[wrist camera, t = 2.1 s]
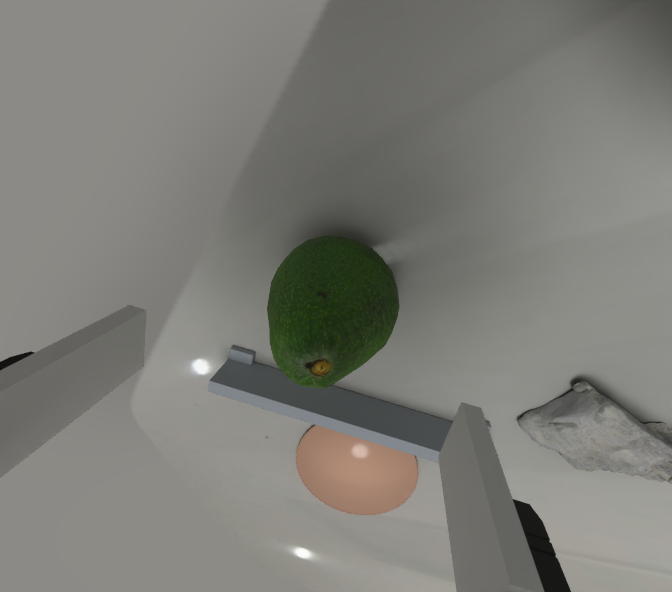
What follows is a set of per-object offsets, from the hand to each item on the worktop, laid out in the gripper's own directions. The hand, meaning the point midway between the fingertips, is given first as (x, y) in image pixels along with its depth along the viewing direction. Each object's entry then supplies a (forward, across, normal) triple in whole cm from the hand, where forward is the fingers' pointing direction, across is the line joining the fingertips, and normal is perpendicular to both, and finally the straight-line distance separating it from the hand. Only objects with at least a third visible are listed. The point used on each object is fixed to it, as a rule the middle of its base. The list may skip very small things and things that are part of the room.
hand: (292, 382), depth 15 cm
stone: (+14, +22, -6) cm, 27 cm away
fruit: (+14, 0, 0) cm, 14 cm away
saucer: (+14, +5, -17) cm, 22 cm away
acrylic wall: (+14, +3, -10) cm, 17 cm away
